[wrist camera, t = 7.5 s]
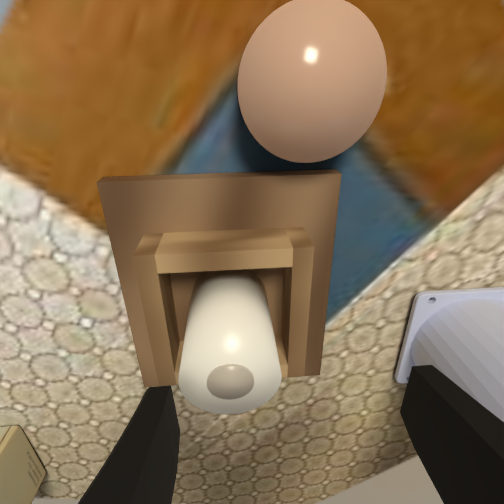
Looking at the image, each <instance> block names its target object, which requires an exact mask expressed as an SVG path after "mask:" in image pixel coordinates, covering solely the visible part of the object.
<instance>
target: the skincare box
mask: <svg viewBox="0 0 504 504" xmlns="http://www.w3.org/2000/svg"><path fill="white" fill-rule="evenodd" d="M45 474H46V472H45V470H44V468H43V466H42V464H41V462H40V461H39V459H38V457H37V455H36V454H35V452H34V450H33V448H32V446H31V445H30V443H29V441H28V439H27V438H26V436H25V434H24V432H23V431H22V429H21V427H20V426H18V425H16V426H5V427H0V504H31V503H32V501H33V499H34V497H35V495H36V493H37V491H38V489H39V487H40V485H41V483H42V481H43V479H44V477H45Z"/></svg>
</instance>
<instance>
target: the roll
mask: <svg viewBox="0 0 504 504" xmlns="http://www.w3.org/2000/svg"><path fill="white" fill-rule="evenodd" d="M281 378H282V374H281V368H280V363H279V358H278V353H277V347H276V342H275V337H274V332H273V326H272V321H271V316H270V311H269V305H268V300H267V295H266V290H265V286H264V284H263V282H262V281H261V279H260V278H259V277H258V276H257V275H256V274H255V273H253V272H252V271H250V270H248V269H240V270H220V271H207V272H205V273H204V274H203V275H201V276H200V277H199V278H198V280H197V281H196V282H195V284H194V286H193V289H192V293H191V299H190V306H189V312H188V319H187V325H186V331H185V338H184V344H183V351H182V357H181V364H180V370H179V377H178V383H179V388H180V391H181V393H182V394H183V396H184V397H185V398H186V399H187V400H188V401H189V402H190V403H191V404H193V405H194V406H196V407H197V408H199V409H202V410H204V411H207V412H211V413H216V414H238V413H244V412H248V411H251V410H253V409H256V408H258V407H260V406H262V405H263V404H265V403H266V402H268V401H269V400H270V399H271V398H272V397H273V396H274V395H275V394H276V392H277V390H278V389H279V386H280V384H281Z"/></svg>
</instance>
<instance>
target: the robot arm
mask: <svg viewBox="0 0 504 504" xmlns="http://www.w3.org/2000/svg"><path fill="white" fill-rule="evenodd" d="M430 298H432V299H430ZM429 299H430V300H429ZM395 379H396V381H397V382H398V383H408V384H407V387H406V391H405V395H404V399H403V403H402V407H401V410H400V413H401V416H402V418H403V421H404V423H405V426H406V429H407V431H408V434H409V436H410V438H411V441H412V443H413V446H414V448H415V450H416V452H417V454H418V456H419V458H420V459H421V461H422V463H423V465H424V467H425V469H426V471H427V473H428V475H429V476H430V478H431V480H432V482H433V484H434V486H435V488H436V489H437V491H438V493H439V495H440V497H441V499H442V501H443V503H444V504H504V287H494V288H477V289H459V290H441V291H424V292H420V293H418V294H417V295H416V296H415V298H414V301H413V305H412V309H411V313H410V317H409V321H408V325H407V329H406V333H405V337H404V341H403V345H402V349H401V353H400V357H399V361H398V365H397V369H396V373H395ZM179 438H180V428H179V424H178V419H177V414H176V409H175V404H174V399H173V394H172V389H171V386H158V387H149V388H148V389H147V390H146V392H145V394H144V396H143V398H142V400H141V402H140V404H139V405H138V407H137V409H136V411H135V413H134V415H133V416H132V418H131V420H130V422H129V424H128V425H127V427H126V429H125V430H124V432H123V434H122V436H121V437H120V439H119V441H118V442H117V444H116V445H115V447H114V449H113V450H112V452H111V454H110V455H109V457H108V459H107V460H106V462H105V463H104V465H103V467H102V468H101V470H100V471H99V473H98V474H97V476H96V477H95V479H94V480H93V482H92V483H91V485H90V486H89V488H88V489H87V491H86V492H85V494H84V495H83V497H82V498H81V500H80V501H79V503H78V504H171V502H172V496H173V490H174V485H175V479H176V473H177V464H178V452H179Z"/></svg>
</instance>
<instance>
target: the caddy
mask: <svg viewBox="0 0 504 504" xmlns="http://www.w3.org/2000/svg"><path fill="white" fill-rule="evenodd" d="M340 183H341V173H340V172H339V171H337V170H336V169H327V170H297V171H267V172H237V173H207V174H177V175H148V176H118V177H103V178H101V179H100V180H99V181H97V186H98V190H99V194H100V199H101V203H102V207H103V211H104V216H105V220H106V224H107V229H108V233H109V237H110V241H111V246H112V250H113V254H114V258H115V263H116V267H117V271H118V276H119V280H120V284H121V288H122V293H123V297H124V301H125V306H126V310H127V314H128V318H129V323H130V327H131V331H132V336H133V340H134V344H135V348H136V353H137V357H138V361H139V366H140V370H141V374H142V378H143V383H144V387H154V386H168V385H179V383H178V377H179V370H180V364H181V357H182V351H183V344H184V338H185V331H186V325H187V319H188V312H189V306H190V299H191V293H192V289H193V286H194V284H195V282H196V281H197V280H198V278H199V277H200V276H201V275H203V274H204V273H205V272H207V271H220V270H240V269H248V270H250V271H252V272H253V273H255V274H256V275H257V276H258V277H259V278H260V279H261V281H262V282H263V284H264V286H265V290H266V295H267V300H268V305H269V311H270V316H271V321H272V326H273V332H274V337H275V342H276V347H277V353H278V358H279V363H280V368H281V374H282V377H296V376H310V375H320V368H321V359H322V350H323V341H324V331H325V322H326V313H327V303H328V294H329V285H330V276H331V266H332V257H333V248H334V238H335V229H336V220H337V211H338V201H339V192H340Z"/></svg>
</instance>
